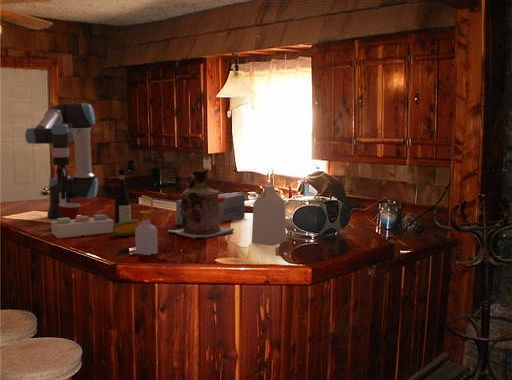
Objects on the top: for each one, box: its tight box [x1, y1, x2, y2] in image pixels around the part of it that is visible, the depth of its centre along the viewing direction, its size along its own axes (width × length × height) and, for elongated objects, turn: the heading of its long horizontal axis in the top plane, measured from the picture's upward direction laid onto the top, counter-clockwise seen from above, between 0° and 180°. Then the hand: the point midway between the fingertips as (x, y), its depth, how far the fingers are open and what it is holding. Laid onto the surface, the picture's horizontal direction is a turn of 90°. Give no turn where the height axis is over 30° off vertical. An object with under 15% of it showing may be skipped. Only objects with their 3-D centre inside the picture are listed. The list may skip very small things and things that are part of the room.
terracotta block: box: [76, 215, 90, 222], centre depth 280 cm, size 5×5×5 cm
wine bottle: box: [114, 168, 132, 225], centre depth 297 cm, size 8×8×30 cm
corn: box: [112, 219, 142, 237], centre depth 277 cm, size 7×8×20 cm
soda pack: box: [175, 192, 246, 226], centre depth 313 cm, size 41×13×14 cm, turn 136°
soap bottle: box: [134, 194, 159, 256], centre depth 237 cm, size 9×9×25 cm
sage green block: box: [56, 217, 71, 224], centre depth 275 cm, size 5×5×5 cm
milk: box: [251, 184, 287, 247], centre depth 259 cm, size 12×12×26 cm
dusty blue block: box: [93, 213, 108, 221], centre depth 285 cm, size 5×5×5 cm
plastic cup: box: [59, 202, 81, 220], centre depth 296 cm, size 11×11×12 cm
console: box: [50, 217, 115, 239], centre depth 280 cm, size 13×27×6 cm, turn 122°
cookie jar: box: [167, 168, 235, 240], centre depth 279 cm, size 25×25×32 cm
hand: (63, 205), depth 274 cm, fingers closed
